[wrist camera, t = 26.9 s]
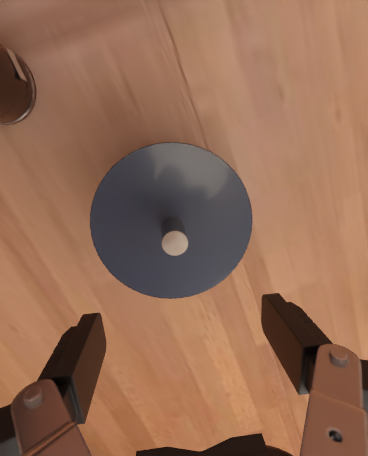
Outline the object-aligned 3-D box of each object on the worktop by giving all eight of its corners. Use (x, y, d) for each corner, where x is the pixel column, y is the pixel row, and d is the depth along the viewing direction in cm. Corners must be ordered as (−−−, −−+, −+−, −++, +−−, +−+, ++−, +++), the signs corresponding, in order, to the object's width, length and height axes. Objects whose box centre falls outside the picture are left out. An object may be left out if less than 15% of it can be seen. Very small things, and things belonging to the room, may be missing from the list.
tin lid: (107, 300, 30) (93, 336, 24) (78, 149, 25) (51, 148, 19) (249, 285, 31) (269, 316, 25) (248, 136, 26) (273, 130, 20)
